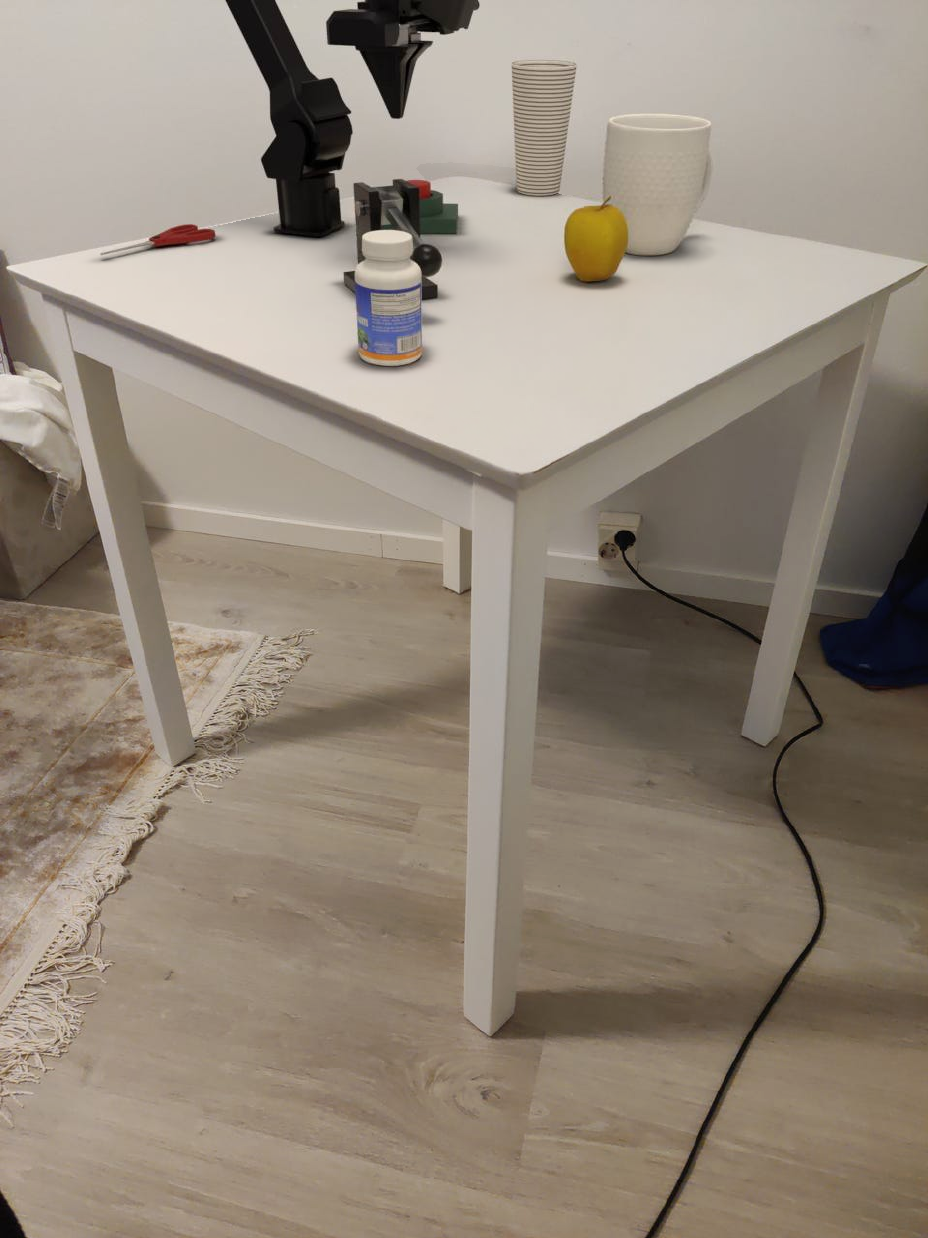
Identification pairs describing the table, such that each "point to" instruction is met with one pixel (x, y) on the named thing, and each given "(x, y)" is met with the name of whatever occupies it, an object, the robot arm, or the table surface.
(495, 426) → the table surface
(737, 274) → the table surface
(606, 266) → the apple
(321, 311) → the table surface
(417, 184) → the button
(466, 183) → the table surface
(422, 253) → the lever
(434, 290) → the bracket
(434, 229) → the button box
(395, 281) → the pill bottle
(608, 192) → the mug
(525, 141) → the cup
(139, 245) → the scissors
